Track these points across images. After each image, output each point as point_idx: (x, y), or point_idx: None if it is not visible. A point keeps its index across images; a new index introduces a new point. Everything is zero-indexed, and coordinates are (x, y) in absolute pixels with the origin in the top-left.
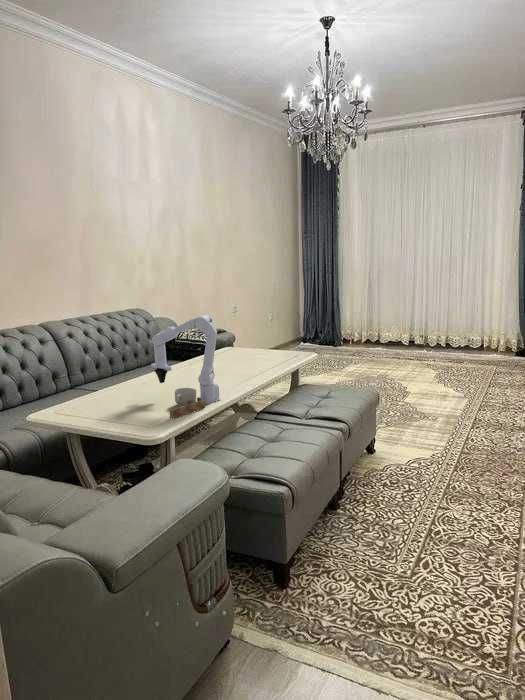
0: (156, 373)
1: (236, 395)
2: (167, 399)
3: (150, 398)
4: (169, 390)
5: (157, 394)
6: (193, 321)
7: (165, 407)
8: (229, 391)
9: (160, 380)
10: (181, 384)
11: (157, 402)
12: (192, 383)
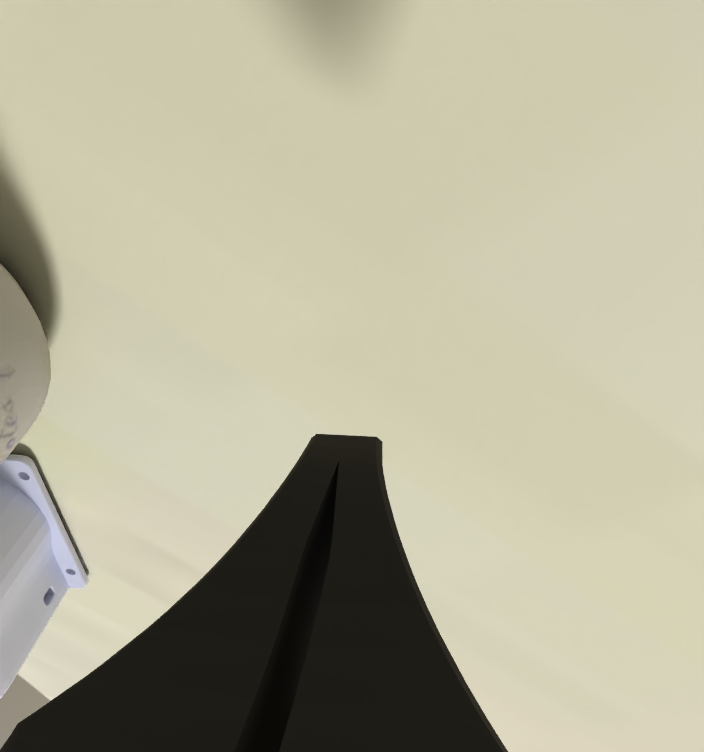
0: (418, 667)
1: None
2: (359, 331)
3: (644, 214)
4: (648, 558)
5: (684, 399)
6: None
7: (7, 48)
8: None
9: (302, 474)
10: (674, 703)
11: (353, 143)
12: (590, 739)
